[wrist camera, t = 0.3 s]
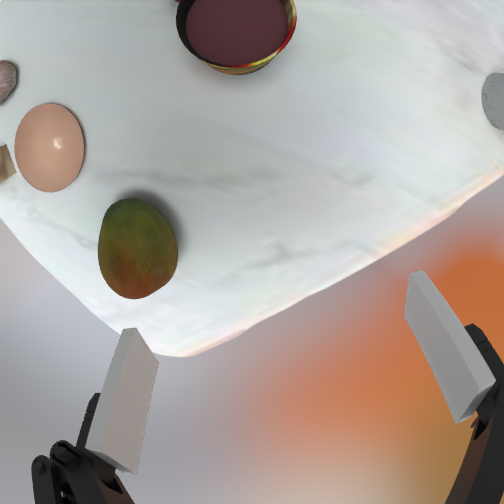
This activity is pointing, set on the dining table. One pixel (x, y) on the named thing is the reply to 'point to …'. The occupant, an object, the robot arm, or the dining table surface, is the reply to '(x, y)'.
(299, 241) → the dining table surface
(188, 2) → the mug
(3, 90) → the garlic bulb
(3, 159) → the oak block
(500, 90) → the grey concrete cylinder
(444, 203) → the dining table surface
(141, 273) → the fruit
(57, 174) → the peach ellipsoid
